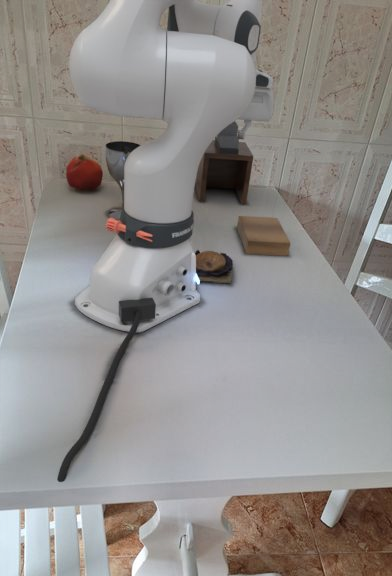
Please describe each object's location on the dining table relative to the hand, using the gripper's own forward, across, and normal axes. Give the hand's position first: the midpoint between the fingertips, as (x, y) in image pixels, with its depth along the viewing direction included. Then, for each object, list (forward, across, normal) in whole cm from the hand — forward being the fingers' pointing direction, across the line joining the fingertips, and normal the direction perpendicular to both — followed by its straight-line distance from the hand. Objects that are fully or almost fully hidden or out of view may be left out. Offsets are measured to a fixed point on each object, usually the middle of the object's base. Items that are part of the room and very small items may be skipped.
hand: (226, 137), depth 120 cm
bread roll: (+14, -7, -42) cm, 45 cm away
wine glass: (+14, -24, -17) cm, 33 cm away
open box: (+14, 0, 0) cm, 14 cm away
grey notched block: (+2, 0, 0) cm, 2 cm away
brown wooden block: (+14, +6, -28) cm, 32 cm away
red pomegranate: (+14, -35, -2) cm, 38 cm away
